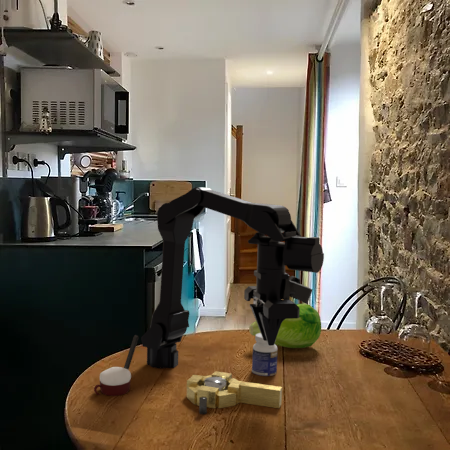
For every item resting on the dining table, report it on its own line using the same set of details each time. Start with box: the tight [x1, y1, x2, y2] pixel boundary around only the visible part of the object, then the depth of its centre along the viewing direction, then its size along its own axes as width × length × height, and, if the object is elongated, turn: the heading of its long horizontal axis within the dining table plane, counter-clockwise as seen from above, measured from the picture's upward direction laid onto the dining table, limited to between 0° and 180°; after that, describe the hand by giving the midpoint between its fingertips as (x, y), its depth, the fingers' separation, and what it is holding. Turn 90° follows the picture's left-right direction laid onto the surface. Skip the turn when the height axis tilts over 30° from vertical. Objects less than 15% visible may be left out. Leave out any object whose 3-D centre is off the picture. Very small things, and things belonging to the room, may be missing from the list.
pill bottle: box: [251, 333, 278, 377], centre depth 122 cm, size 6×6×10 cm
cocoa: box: [93, 334, 139, 397], centre depth 109 cm, size 10×6×12 cm, turn 106°
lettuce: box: [248, 303, 322, 349], centre depth 145 cm, size 14×20×12 cm
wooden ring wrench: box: [186, 371, 283, 409], centre depth 106 cm, size 19×11×4 cm, turn 73°
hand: (268, 342), depth 109 cm, fingers open, 3 cm apart
